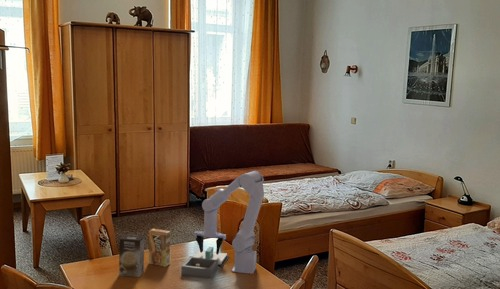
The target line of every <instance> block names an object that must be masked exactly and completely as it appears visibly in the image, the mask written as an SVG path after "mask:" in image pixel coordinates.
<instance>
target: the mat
mask: <svg viewBox="0 0 500 289" xmlns="http://www.w3.org/2000/svg"><path fill="white" fill-rule="evenodd" d="M229 256H230V255H227V256H226V258H225V259H224V261H223V262H222V263H221V265H218V268H223V267H224V266H225V264H226V263H227V261H228V260H229V259H228V258H230V257H229Z"/></svg>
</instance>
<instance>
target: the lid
mask: <svg viewBox="0 0 500 289" xmlns="http://www.w3.org/2000/svg"><path fill="white" fill-rule="evenodd" d="M226 256H228V253H227V252H226V253H225V252H219V254H216V251H214V246H209V247H208V248H207V249H206V250H203V252H202V253H201V252H200V249H198V251H197V252H195V254H194V255H193V256H192V257H197V258H205V259H213V260H218V265H221V263H222V262H223V261H224V259H225V258H226Z"/></svg>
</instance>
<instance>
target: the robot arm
mask: <svg viewBox="0 0 500 289" xmlns="http://www.w3.org/2000/svg"><path fill="white" fill-rule="evenodd" d="M264 181H265V179H264V176H263V175H262V174H261V172H260V171H258V170H252V171H250V172H247V173H242V174H240V176H237V177H236V178H235V179H234V180H233V181H231V183H230V184H228V185H227V187H225V188H217V189H216V192H214V193H213V194H212V195H210V196H209V198H206V199H204V200H203V201H202V203H201V208H202V210H203V212H204V214H203V215H204V216H203V218H204V220H203V221H204V222H203V231H201V230H200V231H197V230H196V231H194V232H193V235H194V236H193V237H196V238H195V241H196V242H197V245H198V247H199V250H200V252H201V253H202V252H203V251H204V239H205V238H210V239H216V240H215V244H216V251H215V252H216V254H219V253H220V249H221V247H222V244H223V242H224V241H225V240H226V239H227V234H226V233H225V234H224V233H221V232H217V231H218V230H217V227H218V226H217V225H218V222H217V221H218V211H219V209H220V207H221V205H222V204H224V203H226V202H227V201H228V200H229V199H230V195H231V194H233V193H234V192H235V191H237V190H238V189H239V188H242V189H243V190H244V191H245V192H246V193H247V194H248V195H249V197H250V198H249V200H248V204H247V207H246V211H245V214H244V218H243V221H242V224H241V228H240V229H239V230H238V232H237V233H236V234H235V235H236V236H235V237H234V238H233V240H232V242H231V243H232V244H231V246H232V248H233V250H234V266H233V268H231V269H232V270H231V272H234V273H241V274H249V273H250V274H249V275H253V274H254V272H255V271H256V269H257V257H258V256H257V251H256V250H253V246H254V245H255V236H256V232H255V231H254V229H255V226H256V224H257V220H258V216H259V213H260V210H261V206H262V203H263V201H264V197H265V191H264Z"/></svg>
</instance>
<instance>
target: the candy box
mask: <svg viewBox="0 0 500 289" xmlns="http://www.w3.org/2000/svg"><path fill="white" fill-rule="evenodd" d="M148 264H149V265H153V266H154V265H155V266H161V267H168V265H170V264H171V231H170V230H164V229H160V228H159V229H158V228H152V229H150V230H149V231H148Z"/></svg>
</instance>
